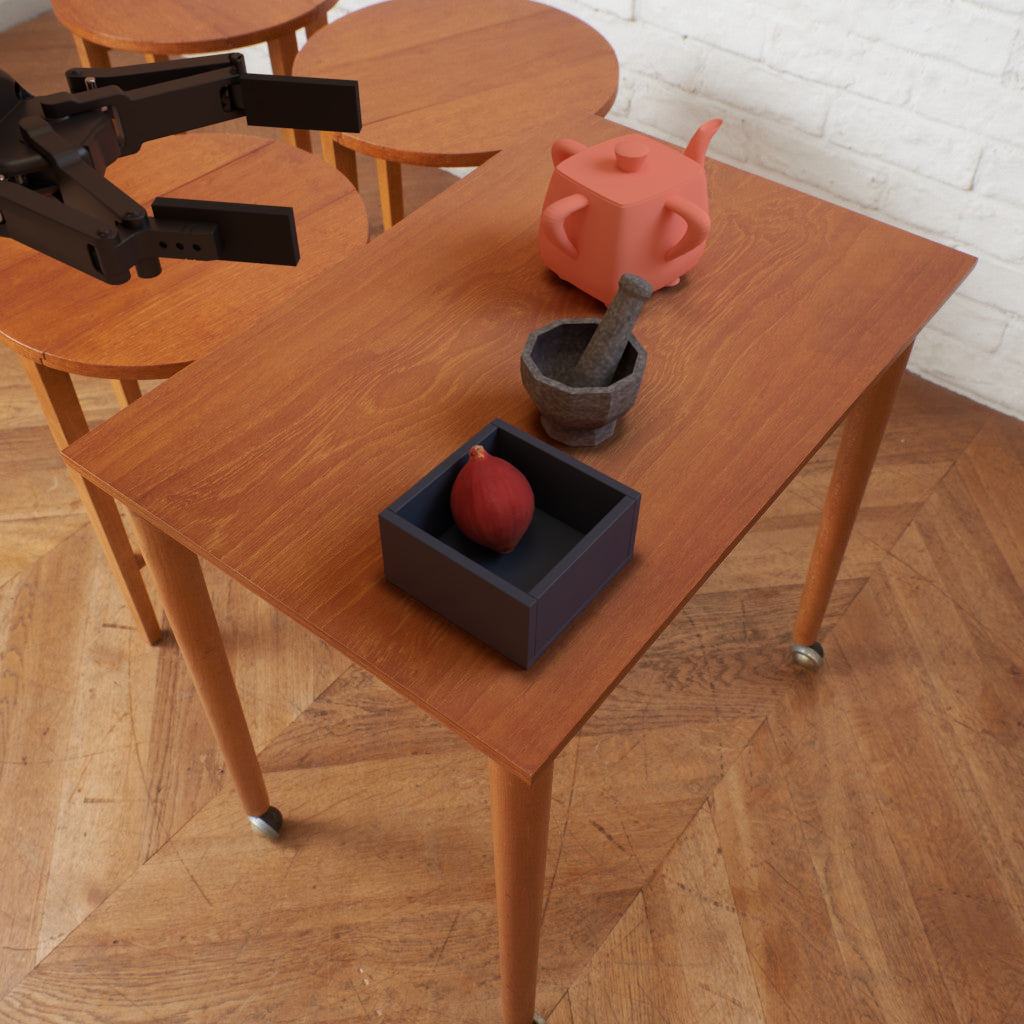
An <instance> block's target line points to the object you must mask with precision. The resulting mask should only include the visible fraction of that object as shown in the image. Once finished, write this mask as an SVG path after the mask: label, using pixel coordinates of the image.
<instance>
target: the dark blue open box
mask: <svg viewBox="0 0 1024 1024" xmlns="http://www.w3.org/2000/svg"><path fill="white" fill-rule="evenodd" d="M476 445H479V446H483V449H484V450H485V451H486V452H487V453H488V454H490V455H492V456H494V457H498V458H501V459H503V460H505V461H507V462H508V463H510V464H511V465H513V466H514V467H515V468H517V469H518V470H519V471H520V472H521V473H522V474H523V475H524V476H525V478H526V479H527V481H528V482H529V484H530V487H531V489H532V492H533V494H534V503H535V508H534V513H533V518H532V520H531V523H530V525H529V527H528V529H527V530H526V532H525V533H524V535H523V536H522V538H521V539H520V541H519V542H518V544H517V545H516V547H515V548H514V550H513V551H511V552H510V553H506V554H501V553H498V552H496V551H494V550H493V549H490V548H488V547H485V546H483V545H480V544H478V543H476V542H474V541H472V540H470V539H469V538H468V537H467V536H466V535H465V534H464V533H463V532H462V531H461V530H460V529H459V528H458V526H457V524H456V523H455V521H454V519H453V515H452V512H451V505H450V497H451V491H452V488H453V485H454V482H455V480H456V478H457V475H458V474H459V472H460V471H461V469H462V468H463V467H464V466H465V465H466V464H467V462H468V461H469V458H470V456H469V453H470V449H471V448H472V447H474V446H476ZM642 495H643V494H642V492H640V491H638V490H636V489H634V488H632V487H630V486H629V485H627V484H625V483H623V482H620V481H618V480H617V479H615V478H614V477H611V476H609V475H608V474H606V473H603V472H601V471H600V470H598V469H596V468H594V467H592V466H590V465H588V464H587V463H584V462H583V461H581V460H579V459H577V458H575V457H574V456H571V455H569V454H567V453H566V452H564V451H562V450H560V449H559V448H556V447H554V446H553V445H551V444H549V443H546V442H545V441H543V440H541V439H540V438H537V437H536V436H533V435H531V434H530V433H527V432H526V431H524V430H522V429H520V428H518V427H517V426H514V425H513V424H511V423H509V422H507V421H505V420H503V419H501V418H499V417H498V416H497V417H495V418H494V419H492V420H491V421H490V422H489V423H487V424H486V425H485V426H484V427H483V428H481V429H480V430H478V432H476V433H474V435H472V437H470V438H469V439H468V440H467V441H466V442H464V443H463V444H462V445H461V446H459V447H458V448H457V449H456V450H454V451H453V452H452V453H451V454H450V455H448V456H447V457H446V458H445V459H443V460H442V461H441V462H440V463H438V464H437V465H436V466H435V467H434V468H433V469H431V470H430V471H429V472H428V473H427V474H425V475H424V476H423V477H422V478H420V479H419V480H418V481H417V482H416V483H414V484H413V485H412V486H411V487H410V488H408V489H407V490H406V491H405V492H403V493H402V494H401V495H399V497H397V498H396V499H395V500H394V501H393V502H391V503H390V504H389V505H388V506H386V507H385V508H384V509H383V510H381V511H380V512H379V513H378V514H377V519H378V529H379V536H380V544H381V553H382V562H383V569H384V570H383V572H384V579H385V580H386V581H388V582H390V583H391V584H392V585H394V586H395V587H397V588H398V589H400V590H402V591H403V592H405V593H406V594H408V595H409V596H411V597H412V598H414V599H416V600H417V601H418V602H420V603H421V604H423V605H425V606H426V607H428V608H429V609H431V610H432V611H434V612H436V613H437V614H439V615H440V616H441V617H443V618H445V619H447V620H448V621H450V622H451V623H453V624H454V625H456V626H458V627H459V628H461V629H462V630H464V631H465V632H467V633H468V634H470V635H471V636H472V637H474V638H476V639H477V640H479V641H480V642H482V643H484V644H485V645H487V646H488V647H490V648H491V649H493V650H495V651H496V652H498V653H499V654H501V655H502V656H504V657H505V658H507V659H509V660H510V661H511V662H513V663H515V664H516V665H518V666H519V667H521V668H522V669H524V670H525V671H528V670H529V669H530V668H531V666H532V665H534V663H535V662H536V661H537V660H538V659H539V658H540V657H541V656H542V655H543V654H544V653H545V652H546V651H547V649H548V648H550V646H551V645H553V644H554V642H555V641H557V639H558V638H559V637H560V636H561V635H562V634H563V633H564V631H565V630H566V629H567V628H569V626H570V625H571V624H572V623H573V622H574V621H575V620H576V619H577V618H578V617H579V615H581V614H582V612H584V610H585V609H586V608H587V607H588V606H589V605H590V604H591V603H592V602H593V601H594V599H596V597H597V596H599V594H600V593H601V592H602V591H603V590H604V589H606V587H607V586H608V585H609V584H610V582H612V580H613V579H615V577H616V576H617V575H619V573H620V572H621V571H622V570H623V569H624V567H625V566H627V564H628V563H629V562H630V561H631V560H633V557H634V552H635V551H634V550H635V543H636V538H637V537H636V536H637V529H638V524H639V523H638V522H639V517H640V516H639V515H640V511H641V510H640V508H641V503H642V502H641V501H642Z"/></svg>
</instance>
